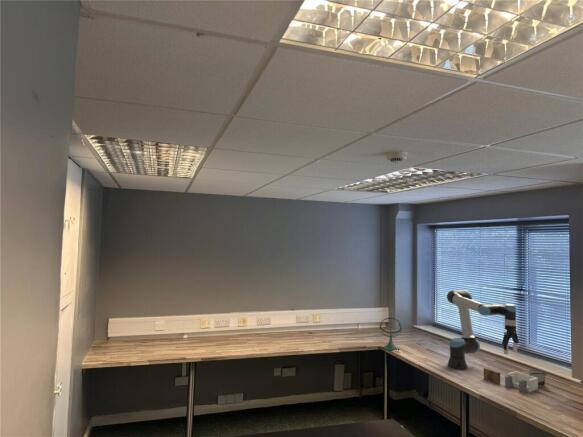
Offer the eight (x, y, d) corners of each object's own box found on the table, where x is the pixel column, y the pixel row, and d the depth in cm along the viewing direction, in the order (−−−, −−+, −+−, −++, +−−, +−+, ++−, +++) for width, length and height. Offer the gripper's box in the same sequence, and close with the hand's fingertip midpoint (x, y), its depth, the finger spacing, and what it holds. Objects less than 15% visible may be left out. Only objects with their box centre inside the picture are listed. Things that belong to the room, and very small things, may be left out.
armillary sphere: (383, 353, 352) (383, 315, 357) (376, 347, 377) (376, 312, 382) (405, 353, 352) (405, 316, 357) (397, 347, 378) (397, 312, 382)
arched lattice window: (540, 382, 283) (540, 369, 284) (546, 385, 277) (546, 372, 278) (525, 382, 283) (524, 369, 284) (530, 385, 277) (530, 372, 277)
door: (483, 378, 290) (483, 368, 290) (485, 378, 291) (485, 367, 292) (498, 383, 280) (498, 372, 280) (500, 383, 281) (500, 372, 281)
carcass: (503, 385, 276) (503, 374, 276) (515, 381, 284) (515, 371, 284) (525, 393, 262) (525, 381, 262) (537, 389, 270) (537, 377, 271)
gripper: (506, 327, 276) (507, 356, 275) (523, 324, 289) (523, 351, 288) (496, 325, 282) (496, 353, 281) (513, 322, 295) (513, 349, 294)
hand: (510, 352), depth 284 cm, fingers open, 13 cm apart
